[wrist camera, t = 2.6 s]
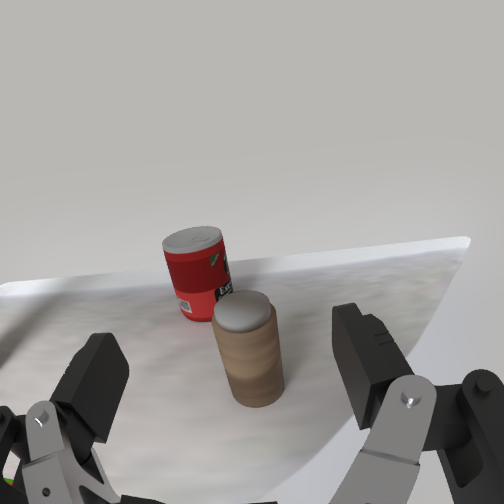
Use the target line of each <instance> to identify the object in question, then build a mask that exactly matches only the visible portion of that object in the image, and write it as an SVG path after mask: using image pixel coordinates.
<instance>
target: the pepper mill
mask: <svg viewBox="0 0 504 504" xmlns="http://www.w3.org/2000/svg"><path fill="white" fill-rule="evenodd" d="M212 326H213V330H214V333H215V337H216V340H217V344H218V347H219V351H220V354H221V358H222V361H223V364H224V368H225V371H226V374H227V378H228V381H229V384H230V387H231V391H232V394H233V396H234V398H235V399H236V401H237V402H239V403H240V404H242V405H244V406H247V407H252V408H259V407H264V406H267V405H270V404H272V403H274V402H275V401H276V400H278V399H279V397H280V396H281V395H282V393H283V390H284V379H283V370H282V361H281V352H280V343H279V334H278V325H277V317H276V310H275V308H274V306H273V305H272V304H271V303H270V302H269V299H268V297H267V296H266V295H264V294H263V293H260V292H257V291H238V292H234V293H231V294H228V295H226V296H224V297H223V298H221V299H220V300H219V301H218V302H217V303H216V305H215V307H214V314H213V316H212Z"/></svg>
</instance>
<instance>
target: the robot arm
mask: <svg viewBox="0 0 504 504" xmlns="http://www.w3.org/2000/svg"><path fill="white" fill-rule="evenodd" d="M332 348H333V353H334V357H335V360H336V363H337V365H338V368H339V371H340V374H341V376H342V379H343V382H344V385H345V388H346V391H347V394H348V396H349V399H350V402H351V405H352V408H353V411H354V414H355V417H356V420H357V423H358V426H359V429H360V430H363V429H366V428H370V429H371V431H370V433H369V435H368V437H367V440H366V442H365V444H364V446H363V447H362V449H361V450H360V451H359V453H358V454H357V456H356V458H355V460H354V462H353V464H352V466H351V468H350V469H349V471H348V473H347V474H346V476H345V478H344V480H343V482H342V483H341V485H340V486H339V488H338V490H337V492H336V494H335V495H334V496H333V498H332V500H331V501H330V503H329V504H406V503H407V501H408V498H409V496H410V494H411V491H412V489H413V486H414V484H415V481H416V479H417V476H418V473H419V469H420V464H419V458H420V455H421V452H422V451H431V450H436V451H437V454H438V456H439V459H440V462H441V465H442V467H443V470H444V473H445V476H446V479H447V482H448V485H449V488H450V492H451V495H452V498H453V501H454V504H504V385H503V383H502V382H501V380H500V379H499V378H498V377H497V375H495V374H494V373H493V372H490V371H488V370H484V369H479V370H474V371H472V372H470V373H469V374H468V375H467V376H466V377H465V378H464V380H463V382H462V384H455V385H444V386H435V385H433V384H432V383H431V382H430V381H429V380H428V379H426V378H424V377H422V376H418V375H415V374H414V373H413V371H412V369H411V367H410V366H409V364H408V363H407V361H406V359H405V357H404V356H403V354H402V352H401V351H400V349H399V348H398V346H397V344H396V343H395V342H394V339H393V338H392V336H391V335H390V334H389V331H388V330H387V328H386V327H385V325H384V324H383V322H382V321H381V320H379V319H378V318H376V317H375V316H373V315H372V314H368V315H364V316H363V315H362V314H361V312H360V310H359V309H358V307H357V305H356V304H355V303H349V304H344V305H339V306H334V307H333V309H332ZM69 365H70V366H68V367H67V369H66V371H65V374H63V376H62V378H61V380H60V381H59V383H58V385H57V387H56V389H55V391H54V392H53V394H52V396H51V398H50V400H49V401H40V402H38V403H36V404H34V405H33V406H32V407H31V408H30V409H29V411H28V412H27V415H19V416H16V415H15V414H14V413H13V412H12V411H11V410H10V408H9V407H7V406H0V504H165V503H162V502H159V501H156V500H152V499H145V498H138V497H133V496H127V495H121V498H120V497H119V496H118V495H117V494H116V493H115V491H114V490H113V489H112V487H111V485H110V483H109V481H108V479H107V476H106V474H105V472H104V470H103V467H102V465H101V463H100V460H99V458H98V456H97V453H96V451H95V449H94V448H93V447H92V445H93V442H99V443H105V444H106V441H107V438H108V435H109V432H110V429H111V426H112V423H113V420H114V417H115V414H116V411H117V408H118V405H119V403H120V400H121V397H122V394H123V391H124V389H125V386H126V383H127V380H128V378H129V365H128V362H127V360H126V358H125V357H124V355H123V353H122V351H121V349H120V347H119V345H118V343H117V341H116V339H115V337H114V335H113V334H112V333H93V334H92V335H91V336H90V337H89V339H88V341H87V342H86V344H85V346H84V347H82V348H81V349H80V350H79V351H78V352H77V353H76V354H75V355H74V357H73V359H72V360H71V362H70V364H69ZM10 450H11V451H12V452H13V453H14V454H15V455H16V456H17V457H18V458H20V459H21V460H20V463H19V466H18V468H17V471H16V474H15V477H14V480H13V483H12V485H10V484H8V483H7V482H6V481H5V480H4V478H3V474H2V471H3V468H4V465H5V462H6V460H7V457H8V455H9V452H10ZM250 504H278V503H277V502H276V501H275V502H264V503H250Z"/></svg>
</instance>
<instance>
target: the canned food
mask: <svg viewBox="0 0 504 504" xmlns="http://www.w3.org/2000/svg"><path fill="white" fill-rule="evenodd" d="M162 245H163V251H164V254H165V258H166V262H167V266H168V269H169V272H170V276H171V279H172V283H173V286H174V289H175V292H176V296H177V299H178V302H179V305H180V308H181V311H182V312H183V314H184V315H185V316H186V317H187V318H188V319H190V320H193V321H197V322H208V321H212V316H213V314H214V307H215V305H216V303H217V302H218V301H219V300H220V299H221V298H223V297H224V296H226V295H228V294H231V293H233V288H232V283H231V278H230V272H229V267H228V262H227V257H226V251H225V246H224V241H223V236H222V233H221V230H220V229H218V228H216V227H209V226H201V227H193V228H188V229H184V230H181V231H178V232H176V233H173V234H172V235H170V236H168V237H167V238H166V239H164V241H163V243H162Z"/></svg>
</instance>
